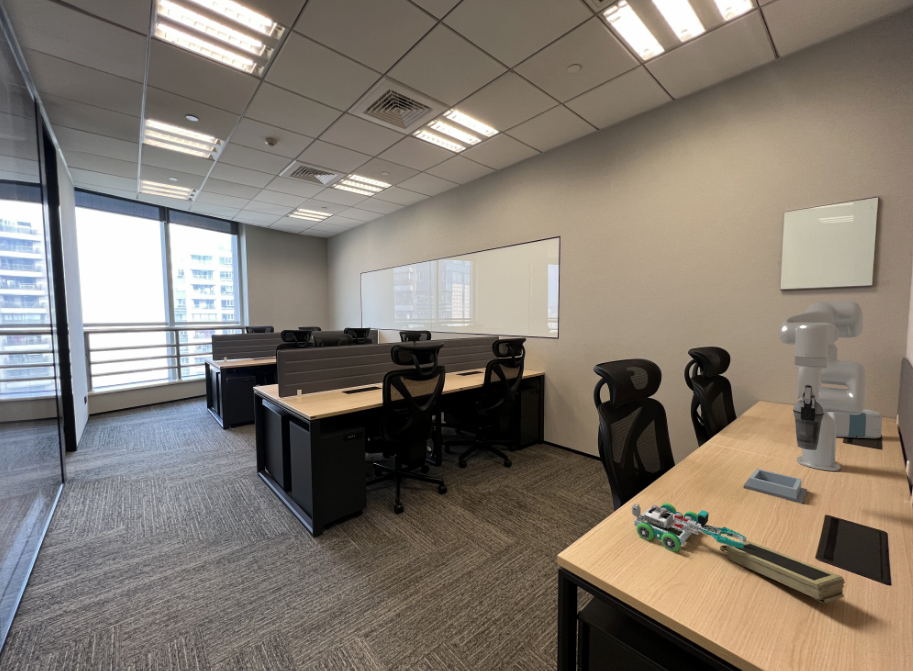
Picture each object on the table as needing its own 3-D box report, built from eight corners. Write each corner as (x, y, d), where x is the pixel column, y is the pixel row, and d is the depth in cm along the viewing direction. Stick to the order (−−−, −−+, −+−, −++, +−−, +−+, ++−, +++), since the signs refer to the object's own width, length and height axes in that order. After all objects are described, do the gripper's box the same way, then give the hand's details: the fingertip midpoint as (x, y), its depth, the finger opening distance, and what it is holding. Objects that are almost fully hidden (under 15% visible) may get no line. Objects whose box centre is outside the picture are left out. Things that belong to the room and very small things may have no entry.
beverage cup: (814, 444, 120) (816, 384, 119) (828, 452, 113) (831, 388, 112) (786, 442, 122) (788, 383, 121) (799, 450, 115) (801, 387, 114)
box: (824, 612, 72) (820, 585, 72) (713, 561, 93) (710, 540, 93) (850, 603, 74) (846, 576, 75) (736, 555, 95) (733, 534, 96)
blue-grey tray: (751, 478, 136) (751, 467, 136) (807, 492, 124) (807, 480, 124) (743, 487, 128) (744, 476, 128) (802, 503, 117) (803, 491, 116)
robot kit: (735, 581, 83) (736, 541, 82) (624, 533, 102) (625, 500, 101) (754, 548, 95) (755, 512, 94) (652, 510, 114) (653, 480, 113)
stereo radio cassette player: (832, 438, 181) (834, 397, 180) (819, 433, 189) (820, 394, 189) (882, 440, 178) (884, 399, 177) (866, 434, 186) (868, 395, 185)
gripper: (797, 359, 125) (795, 410, 126) (791, 364, 113) (789, 421, 114) (828, 361, 119) (826, 414, 120) (825, 366, 108) (823, 425, 109)
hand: (808, 417), depth 117 cm, fingers closed on beverage cup, 7 cm apart
